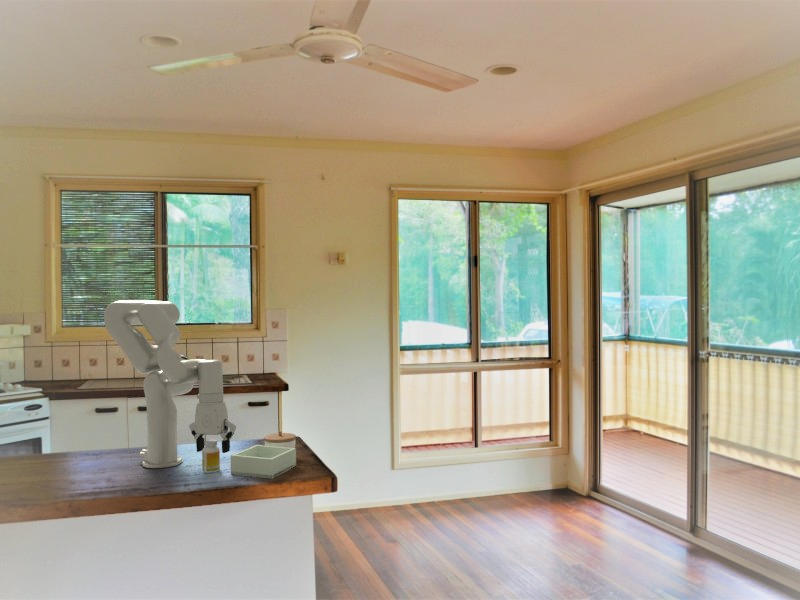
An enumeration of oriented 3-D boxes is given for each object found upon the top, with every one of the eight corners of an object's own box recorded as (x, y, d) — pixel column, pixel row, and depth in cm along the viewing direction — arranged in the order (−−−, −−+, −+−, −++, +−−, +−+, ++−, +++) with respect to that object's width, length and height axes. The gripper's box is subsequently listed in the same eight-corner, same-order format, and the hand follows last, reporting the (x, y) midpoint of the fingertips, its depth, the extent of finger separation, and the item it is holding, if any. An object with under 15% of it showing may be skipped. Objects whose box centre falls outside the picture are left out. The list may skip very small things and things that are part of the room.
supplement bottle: (223, 469, 203) (223, 439, 203) (211, 474, 198) (211, 443, 198) (210, 467, 205) (210, 438, 205) (198, 472, 201) (198, 441, 201)
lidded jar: (289, 453, 225) (288, 427, 225) (300, 459, 216) (300, 432, 215) (260, 457, 219) (260, 430, 219) (270, 464, 210) (270, 436, 210)
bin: (230, 474, 198) (230, 455, 198) (256, 462, 212) (256, 444, 212) (272, 478, 193) (272, 459, 193) (296, 466, 207) (296, 448, 207)
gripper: (181, 399, 201) (183, 453, 201) (227, 400, 195) (229, 455, 195) (196, 396, 208) (198, 447, 208) (240, 396, 202) (242, 449, 202)
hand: (213, 451), depth 201 cm, fingers open, 9 cm apart
